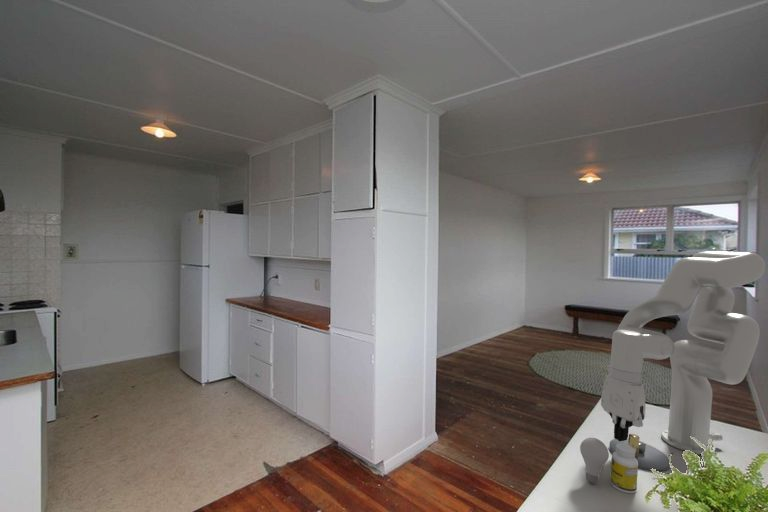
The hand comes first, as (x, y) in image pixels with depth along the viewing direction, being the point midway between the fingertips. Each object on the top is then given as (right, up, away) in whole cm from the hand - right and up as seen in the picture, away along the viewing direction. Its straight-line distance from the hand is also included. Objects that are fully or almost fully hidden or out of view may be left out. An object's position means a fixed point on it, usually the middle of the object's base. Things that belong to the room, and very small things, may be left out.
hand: (620, 439), depth 102 cm
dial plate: (+6, -5, +1) cm, 8 cm away
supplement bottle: (-8, -5, -13) cm, 16 cm away
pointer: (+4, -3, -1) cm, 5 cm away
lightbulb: (-15, -5, -12) cm, 20 cm away
